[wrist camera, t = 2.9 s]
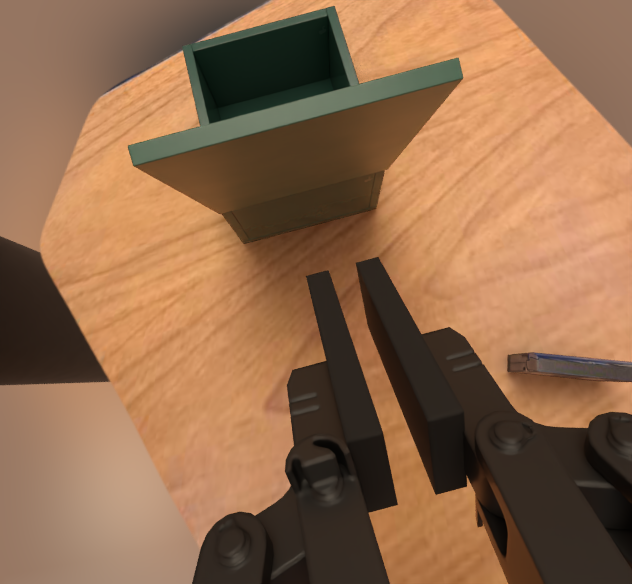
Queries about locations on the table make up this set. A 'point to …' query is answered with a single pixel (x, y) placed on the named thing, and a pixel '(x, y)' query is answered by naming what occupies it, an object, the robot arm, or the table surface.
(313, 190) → the bin
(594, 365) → the mini dv tape
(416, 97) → the bin lid
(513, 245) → the table surface
